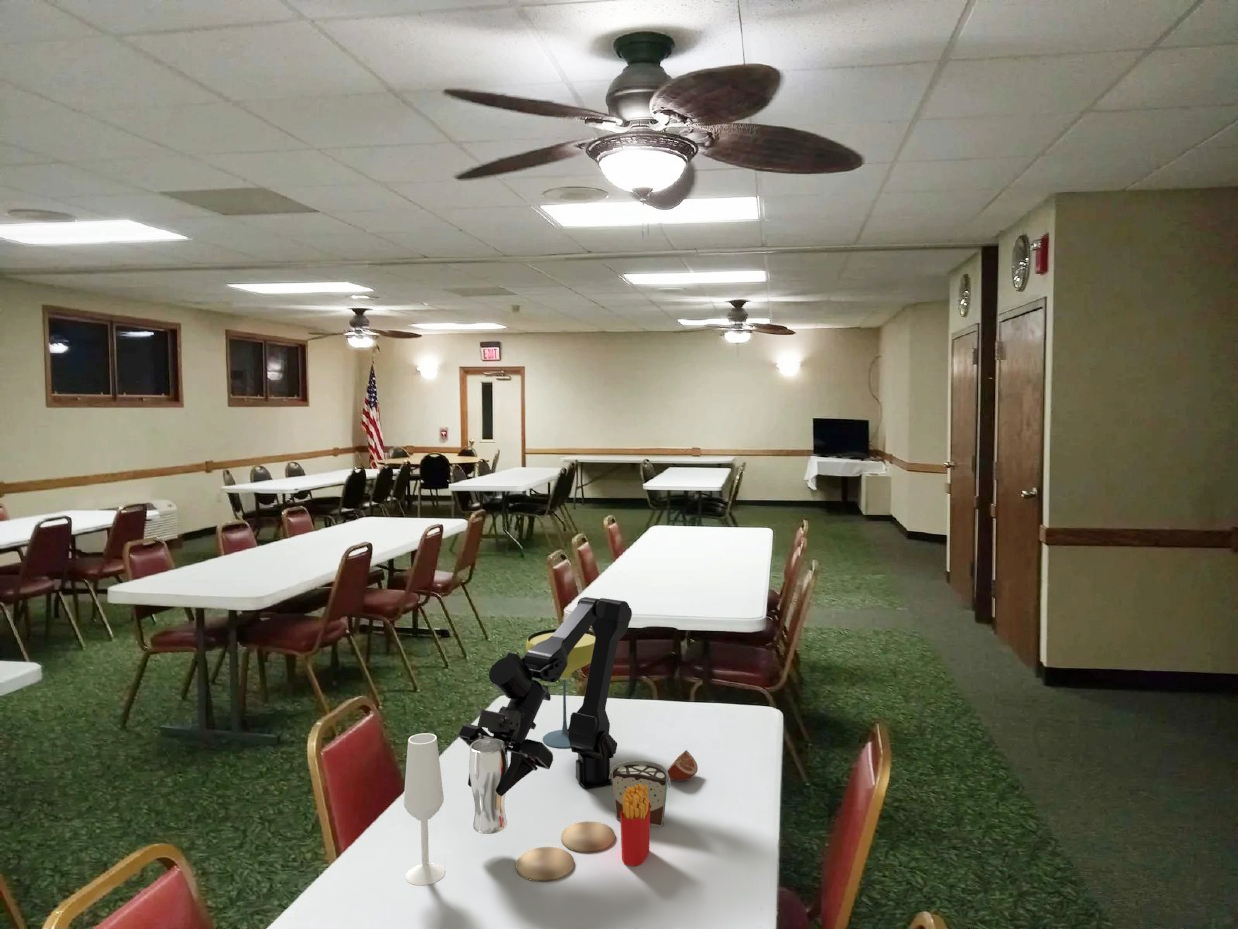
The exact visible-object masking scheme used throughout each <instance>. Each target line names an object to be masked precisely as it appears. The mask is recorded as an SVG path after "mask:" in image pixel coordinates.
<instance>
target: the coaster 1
mask: <svg viewBox="0 0 1238 929" xmlns="http://www.w3.org/2000/svg"><path fill="white" fill-rule="evenodd" d="M574 864H575V860H574V857H573V855H572V854H571V853H570V852H569V851H568V850H565V849H563V848H560V847H554V846H541V847H536V848H533V849H529V850H527V851H525V852H524V853H522V854H521V855H520V856H519V857H518V859H517V860H516V870H517V873H518V874H519V875H520V876H521V877H522V878H524V877H525V878H524V879H526V878H527V880H529V879H531V880H530V881H533V880H534V881H533V882H552V881H556V880H560V879H562V878H564V877H566V876H567V875H569V874H570V873H571V872H572V871H573V869H574Z"/></svg>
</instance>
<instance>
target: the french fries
mask: <svg viewBox="0 0 1238 929" xmlns="http://www.w3.org/2000/svg"><path fill="white" fill-rule="evenodd" d="M644 789H645V791H644ZM625 791H626V793H624V794H623V797H622V800H623V810H622V812H621V813H620V820H619V821H620V839H621V840H620V841H621V842H620V843H621V844H620V845H621V860H622V863H623V865H627V866H631V867H636V866H639V865H642V864H643V863H644V861H645V860H646V858H647V857H648V855H649V854H650V842H651V841H650V833H651V832H650V831H651V825H650V802H649V800H648V786H647V785H645V787H643V786H642V785H641V784H638V786H637V785H636V784H635V785H634V787H633V786H631V788H630V787H627V789H625Z"/></svg>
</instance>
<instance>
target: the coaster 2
mask: <svg viewBox="0 0 1238 929" xmlns="http://www.w3.org/2000/svg"><path fill="white" fill-rule="evenodd" d="M560 839H561V844H562V845H563V846H564V847H566V848H567V849H569V850H571V851H574V852H578V853H579V852H580V853H594V852H598V851H599V852H600V851H602V850H605V849H607V848H609V847H610V846H612V845H613V843H614V842H615V839H616V834H615V830H614V829H613V828H612V827H611V826H609V825H608V824H605V823H602V822H598V821H580V822H576V823H573V824H571V825H568V826H567V827H565V828H564V829H563V830H562V832H561V835H560Z"/></svg>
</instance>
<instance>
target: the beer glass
mask: <svg viewBox="0 0 1238 929" xmlns="http://www.w3.org/2000/svg"><path fill="white" fill-rule="evenodd" d="M508 754H509V753H508V751H507V743H506V742H505V741H504V740H502V739H498V738H484V739H480V740H477V741H475V742H473V743H472V744H471V745H470V746H469V759H468V767H469V768H468V769H469V770H468V771H469V772H468V774H469V773H470V782H471V787H470V788H471V792H472V796H473V801H474V818H473V824H472V827H473V829H474V830H475V832H477V833H479V834H481V835H482V834H484V835H490V834H491V835H492V834H496V833H500V832H501V831H503V830H504V829H506V828H507V825H508V819H507V813H506V808H505V800H506V796H507V795H506V794H507V792H506V793H505V794H504V795H503V796H499V795H498V791H499V788H500V785H501V783H502V780H503V778H504V776H505V774H506V772H507V770H508V767H509V755H508Z"/></svg>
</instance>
